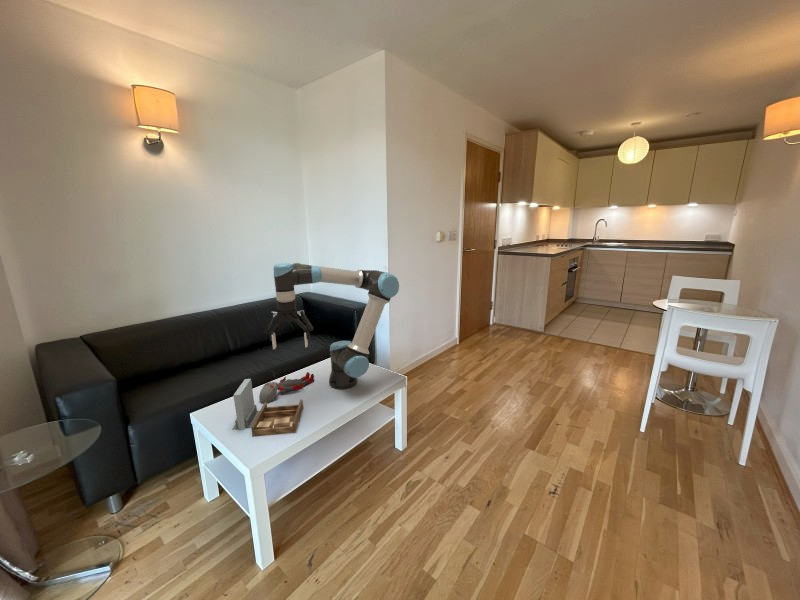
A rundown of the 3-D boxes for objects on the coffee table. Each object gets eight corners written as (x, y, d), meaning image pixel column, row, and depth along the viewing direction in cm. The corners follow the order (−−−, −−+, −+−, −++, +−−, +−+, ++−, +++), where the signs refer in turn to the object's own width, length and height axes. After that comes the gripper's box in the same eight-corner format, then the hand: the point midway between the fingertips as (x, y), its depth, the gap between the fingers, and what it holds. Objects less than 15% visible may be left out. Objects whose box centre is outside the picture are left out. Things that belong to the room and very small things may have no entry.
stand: (242, 414, 149) (241, 405, 148) (261, 412, 150) (259, 403, 149) (232, 431, 136) (230, 422, 135) (252, 429, 137) (250, 420, 136)
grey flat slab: (245, 429, 136) (240, 394, 133) (238, 429, 136) (233, 395, 132) (255, 410, 150) (251, 378, 146) (249, 410, 150) (244, 379, 146)
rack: (303, 409, 152) (302, 399, 151) (295, 434, 134) (294, 424, 133) (265, 412, 150) (264, 402, 149) (252, 438, 132) (251, 427, 131)
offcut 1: (272, 427, 137) (271, 421, 136) (269, 433, 134) (268, 426, 133) (260, 427, 137) (260, 421, 136) (257, 433, 134) (256, 426, 133)
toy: (320, 376, 175) (269, 389, 151) (319, 393, 176) (268, 409, 151) (301, 369, 184) (251, 380, 160) (300, 385, 185) (250, 399, 160)
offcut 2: (290, 421, 138) (289, 417, 137) (289, 426, 135) (289, 422, 134) (275, 423, 137) (274, 419, 136) (274, 428, 133) (273, 424, 133)
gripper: (317, 297, 143) (320, 342, 148) (258, 299, 140) (263, 345, 145) (315, 300, 136) (318, 348, 141) (252, 303, 133) (258, 352, 138)
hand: (290, 347), depth 143 cm, fingers open, 13 cm apart
